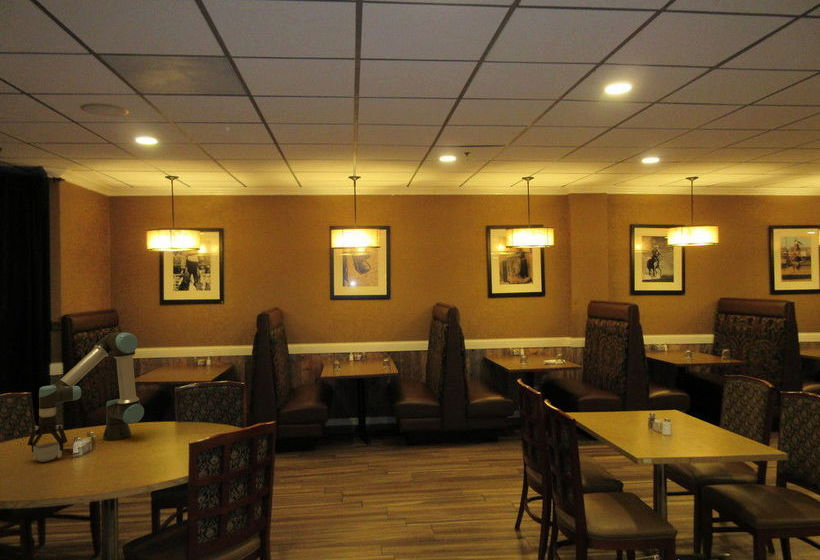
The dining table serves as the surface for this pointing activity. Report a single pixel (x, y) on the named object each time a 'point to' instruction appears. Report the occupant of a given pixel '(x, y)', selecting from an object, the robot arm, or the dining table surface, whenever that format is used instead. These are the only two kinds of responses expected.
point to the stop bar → (65, 451)
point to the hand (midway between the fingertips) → (47, 457)
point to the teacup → (46, 451)
